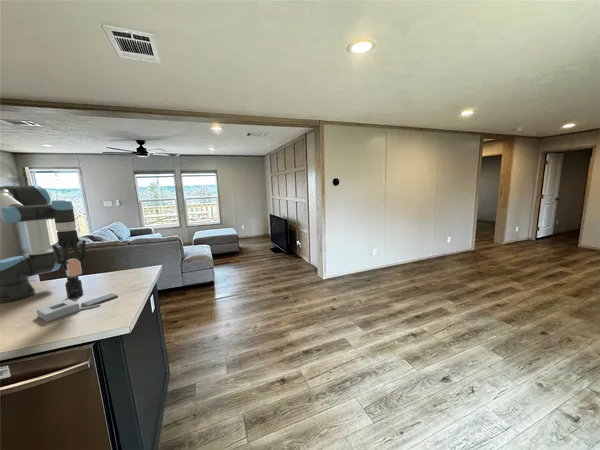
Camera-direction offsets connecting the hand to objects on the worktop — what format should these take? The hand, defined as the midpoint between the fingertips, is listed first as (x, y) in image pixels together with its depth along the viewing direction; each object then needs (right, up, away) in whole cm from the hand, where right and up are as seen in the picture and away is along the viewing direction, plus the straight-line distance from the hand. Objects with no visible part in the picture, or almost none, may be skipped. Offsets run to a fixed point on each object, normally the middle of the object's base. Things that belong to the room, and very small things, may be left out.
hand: (74, 274), depth 127 cm
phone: (+9, -16, +5) cm, 19 cm away
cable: (+10, -17, -3) cm, 20 cm away
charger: (0, 0, 0) cm, 0 cm away
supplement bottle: (-12, -16, +13) cm, 24 cm away
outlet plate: (0, -18, -8) cm, 20 cm away
